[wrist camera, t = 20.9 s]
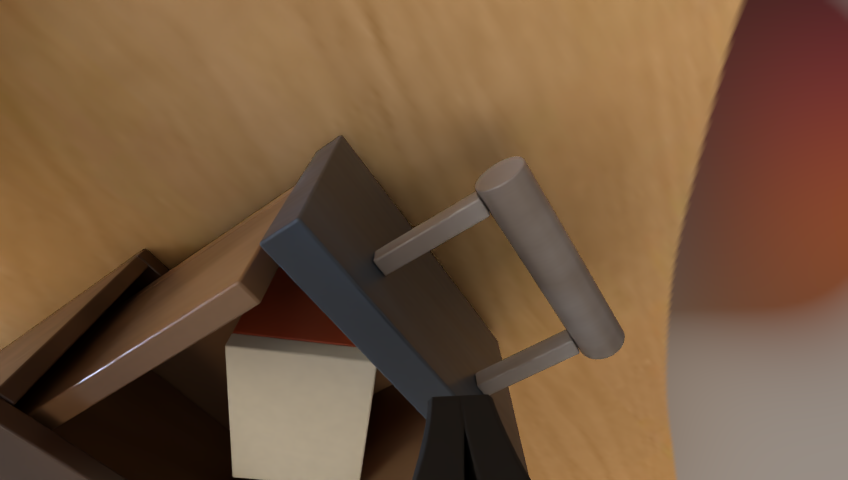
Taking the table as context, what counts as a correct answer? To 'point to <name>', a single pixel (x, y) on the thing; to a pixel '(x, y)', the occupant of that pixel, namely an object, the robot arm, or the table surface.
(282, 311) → the carton
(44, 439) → the cabinet
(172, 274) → the drawer
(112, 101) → the table surface
